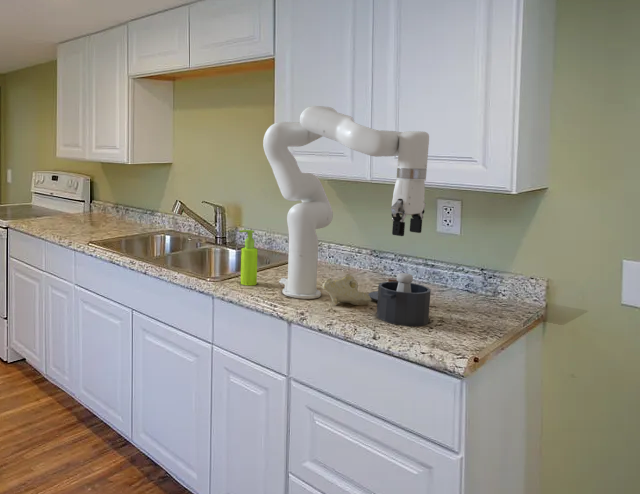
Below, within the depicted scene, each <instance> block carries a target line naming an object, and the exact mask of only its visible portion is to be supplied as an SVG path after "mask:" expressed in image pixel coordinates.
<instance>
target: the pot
mask: <svg viewBox="0 0 640 494" xmlns="http://www.w3.org/2000/svg"><path fill="white" fill-rule="evenodd" d="M410 285H411V292H412V293H406V292H398V291H396V290H397V286H398V282H388V281H383V282H379V283H378V288H377V291H378V302H377V301H376V304H377V305H376V317H377V318H378V319H379V320H381V321H384V322H387V323H389V324H393V325H398V326H406V327H421V326H422V327H423V326H425V325H428V324H429V319H430V307H431V295H432V294H431V293H432V289H431V288H429V287H428V286H426V285H424V284H419V283H415V282H411V283H410Z"/></svg>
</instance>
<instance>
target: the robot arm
mask: <svg viewBox="0 0 640 494" xmlns="http://www.w3.org/2000/svg"><path fill="white" fill-rule="evenodd" d="M322 137H324V138H326V139H329V140H332V141H335V142H337V143H339V144H341V145H343V146H344V147H346V148H348V149H350V150H353V151H356V152H358V153H361V154H364V155H367V156H370V157H377V158H379V157H397V166H396V167H397V168H396V180H395V184H394V188H393V193H392V200H391V207H390V211H391V218H392V219H391V220H392V230H391V231H392V232H391V234H392V236H398V237H404V236H405V229H406V222H405V219H406V217H407V216H410V217H411V218H410V221H409V232H410V233H416V234H421V233H422V229H423V228H422V227H423V219H424V214H425V209H426V207H427V203H426V202H425V198H426V197H425V194H426V192H425V191H426V184H425V183H426V182H425V181H427V172H428V170H427V169H428V160H429V159H428V157H429V145H430V134H429V133H428V132H426V131H419V130H418V131H417V130H416V131H415V130H413V131H410V130H409V131H396V130H379V129H375V128H372V127H368V126H365V125H362V124H359V123H357V122H355V120H354V118H353V117H352V116H350V115H348V114H345V113H341V112H338V111H337V110H336V109H335V108H334V107H333V108H332V107H330V106H323V105H311V106H308V107H305V108H304V109H303V110H302V112H301V113H300V116H299V121H278V122H275V123H272V124H271V125H270V126H269V127H268V128H267V129H266V131H265V133H264V135H263V140H262V145H263V146H262V147H263V151H264V154H265V157H266V158H267V161H268V164H269V165H270V168H271V170H272V173H273V176H274V178H275V181H276V184H277V186H278V189H279V191H280V193H281V195H282V197H283V199H284V200H286V201H289V202H298V201H301V202H299V203H296V204H294V205H292V206H291V208H289V210H288V212H287V215H286V223H287V229H288V257H287V258H288V259H287V262H288V263H287V277H281V278H280V280H279V281H278V283H279V284H280V285H284V288H282V294H283V295H284V296H287V297H289V298H294V299H302V300H303V299H304V300H307V299H308V300H313V299H318V298H320V297H321V296H322V292H321V291H320V290H319V289H317V285H318V284H317V283H318V281H317V280H318V264H319V263H318V262H319V260H318V259H319V239H318V235H317V232H316V230H320V229H324V228H326V227H328V226H329V225H330V224H331V223H332V221H333V217H334V212H333V208H332V205H331V203H330V200H329V198H328V195H327V193H326V191H325V188H324V186H323V183H322V181H321V180H320V179H319V178H318V176H316V175H315V174H313V173H310V172H302V171H301V169H300V166H299V165H298V162H297V160H296V157H295V156H294V155H293V153H292V152H291V151H290V150H289V147H292V148H293V147H305V146H306V145H308V144H311V143H313V142H315V141H316V140H319V139H321V138H322Z"/></svg>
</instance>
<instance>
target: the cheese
mask: <svg viewBox="0 0 640 494" xmlns="http://www.w3.org/2000/svg"><path fill="white" fill-rule="evenodd" d="M332 277H333V276H332V275H331V276H330V277H328V278H326V279H325V280H324V282H323V283H322V286H321V289H323V290H324V291H325V292H326V293H327V294H328V295H329V296H330V297H329V298H330V299H331V302H332V303H333V305H334V306H336V305H337V304H338V303H346V304H351V305H355V306H359V305H360V306H367V305H369V304H370V303H371V302H372V299H371V298H370V296H369V295H368V293H367V292H365V291H359V290H358V289H359V284H358V281H357V279H355V277H354V276H353V275H351V274H349V273H347V274H345V275H344V276H343V277H341V278H339V279H335V280H333V278H332Z"/></svg>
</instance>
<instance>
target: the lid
mask: <svg viewBox="0 0 640 494" xmlns="http://www.w3.org/2000/svg"><path fill="white" fill-rule="evenodd" d="M387 282H398V281H397V277H390V278H388V280H387ZM367 295H369V296H370V298H371V301H375V302H376V303H377V302H378V290H377V291H371V292H369V293H367Z"/></svg>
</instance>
